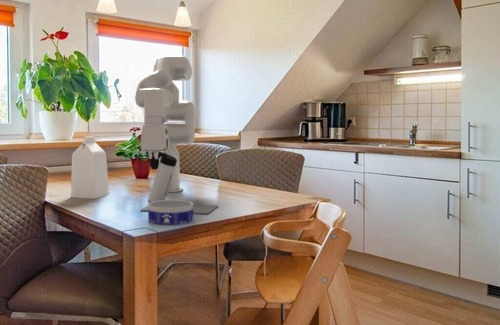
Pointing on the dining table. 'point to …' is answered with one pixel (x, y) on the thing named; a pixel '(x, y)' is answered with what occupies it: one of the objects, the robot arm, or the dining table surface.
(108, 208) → the dining table surface
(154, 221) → the dog bowl
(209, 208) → the mat
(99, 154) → the milk
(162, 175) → the travel mug
